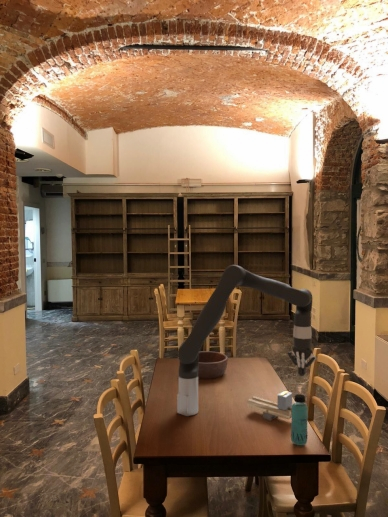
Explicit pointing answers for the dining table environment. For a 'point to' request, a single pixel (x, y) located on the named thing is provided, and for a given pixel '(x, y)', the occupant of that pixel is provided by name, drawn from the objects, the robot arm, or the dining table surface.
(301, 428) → the beverage bottle
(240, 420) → the dining table surface
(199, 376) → the wooden bowl
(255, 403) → the beam
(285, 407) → the block
